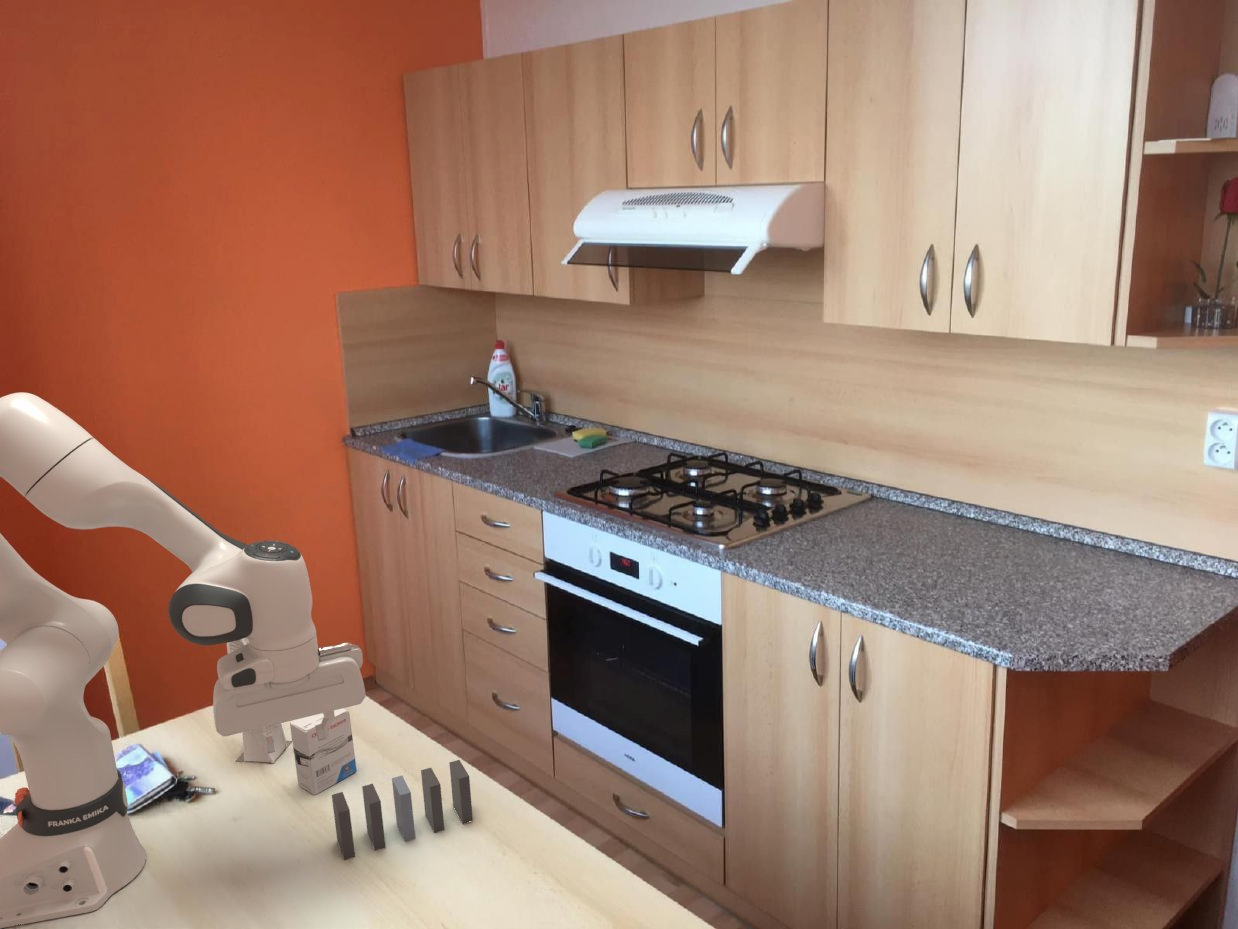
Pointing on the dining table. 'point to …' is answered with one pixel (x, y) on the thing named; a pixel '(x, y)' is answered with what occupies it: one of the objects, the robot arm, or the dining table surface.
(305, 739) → the ink box
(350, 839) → the domino
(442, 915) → the dining table surface
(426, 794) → the domino
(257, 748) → the skyscraper
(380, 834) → the domino
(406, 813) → the domino
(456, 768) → the domino
